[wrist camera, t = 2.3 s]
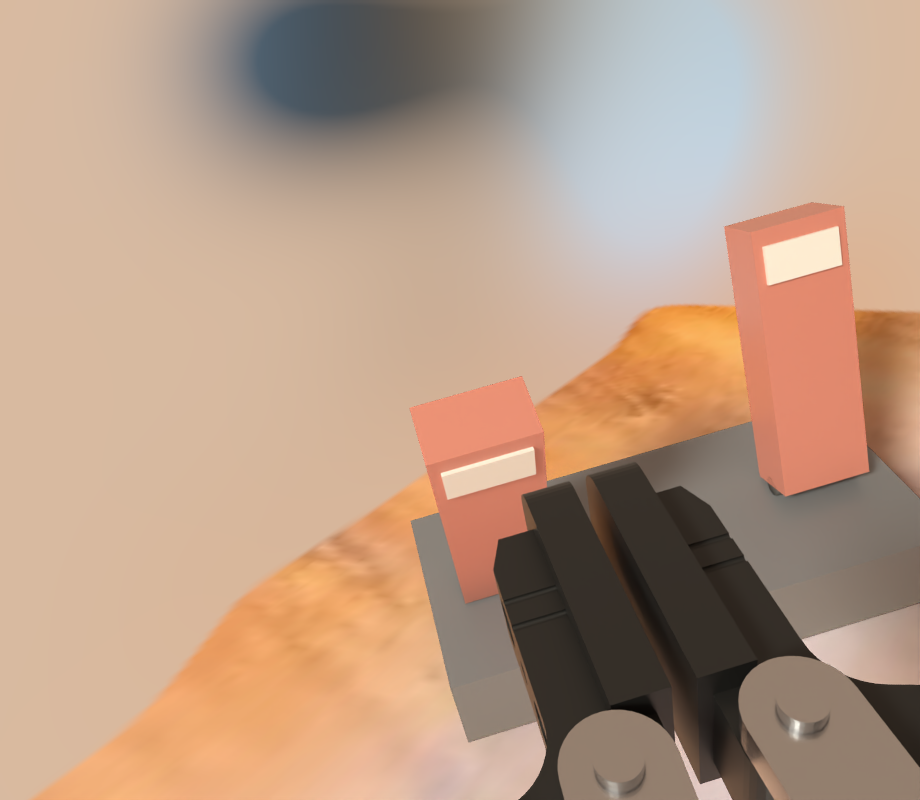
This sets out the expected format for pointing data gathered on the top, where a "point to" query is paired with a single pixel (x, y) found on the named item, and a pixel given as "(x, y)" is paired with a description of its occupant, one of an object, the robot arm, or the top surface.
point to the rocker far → (799, 346)
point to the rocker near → (481, 472)
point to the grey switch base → (749, 524)
